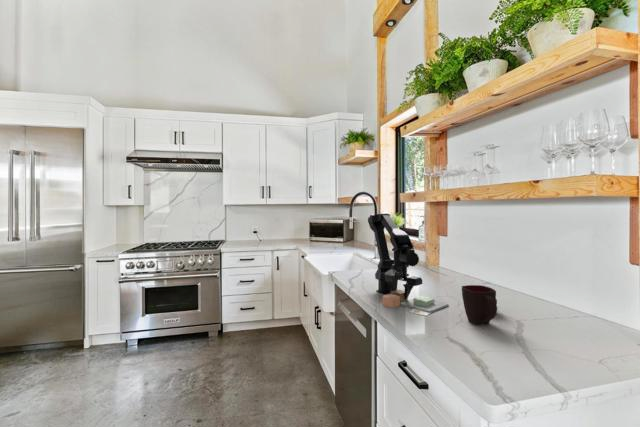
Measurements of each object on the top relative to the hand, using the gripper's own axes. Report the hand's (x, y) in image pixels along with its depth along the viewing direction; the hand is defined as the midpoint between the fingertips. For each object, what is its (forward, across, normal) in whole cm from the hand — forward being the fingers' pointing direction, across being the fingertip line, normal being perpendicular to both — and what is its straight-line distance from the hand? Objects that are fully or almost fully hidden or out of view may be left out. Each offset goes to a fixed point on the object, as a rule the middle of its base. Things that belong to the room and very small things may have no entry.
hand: (400, 297), depth 141 cm
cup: (+1, +36, -3) cm, 36 cm away
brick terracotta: (+1, +2, -9) cm, 9 cm away
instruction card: (+1, +15, -8) cm, 17 cm away
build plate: (+1, +11, +1) cm, 11 cm away
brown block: (+1, 0, 0) cm, 1 cm away
